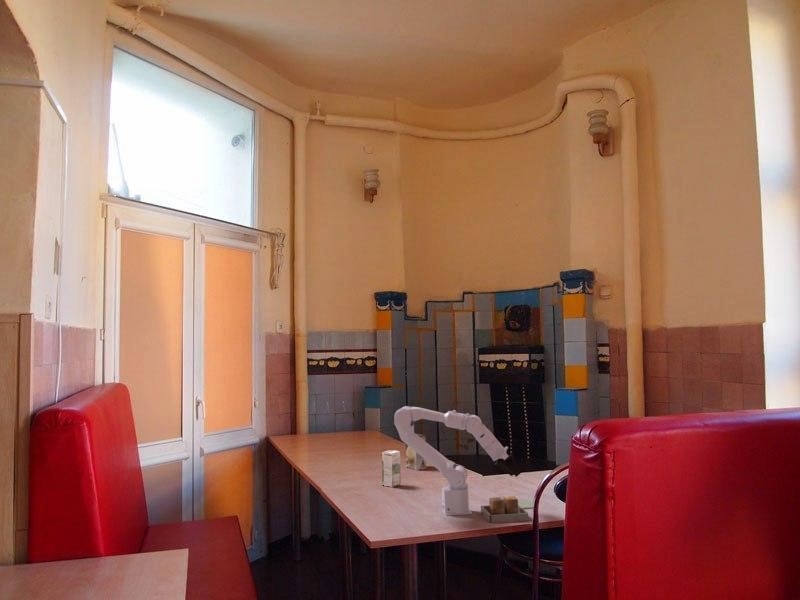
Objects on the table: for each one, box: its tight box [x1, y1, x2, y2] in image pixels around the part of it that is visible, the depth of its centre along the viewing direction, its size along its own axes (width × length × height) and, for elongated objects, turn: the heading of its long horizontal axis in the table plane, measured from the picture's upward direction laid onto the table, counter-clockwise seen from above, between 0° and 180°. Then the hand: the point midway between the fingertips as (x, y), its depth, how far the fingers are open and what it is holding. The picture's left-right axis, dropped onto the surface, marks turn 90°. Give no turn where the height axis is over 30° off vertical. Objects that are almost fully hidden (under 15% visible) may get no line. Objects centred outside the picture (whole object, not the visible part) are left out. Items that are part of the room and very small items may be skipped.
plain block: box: [488, 496, 504, 515], centre depth 202 cm, size 4×4×6 cm
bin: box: [480, 504, 529, 524], centre depth 202 cm, size 13×12×2 cm
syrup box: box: [381, 449, 402, 488], centre depth 252 cm, size 6×6×14 cm
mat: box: [518, 499, 534, 510], centre depth 215 cm, size 9×9×1 cm
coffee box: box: [405, 432, 427, 471], centre depth 286 cm, size 9×6×16 cm
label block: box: [502, 496, 519, 514], centre depth 202 cm, size 4×4×6 cm
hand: (516, 474), depth 206 cm, fingers open, 7 cm apart
